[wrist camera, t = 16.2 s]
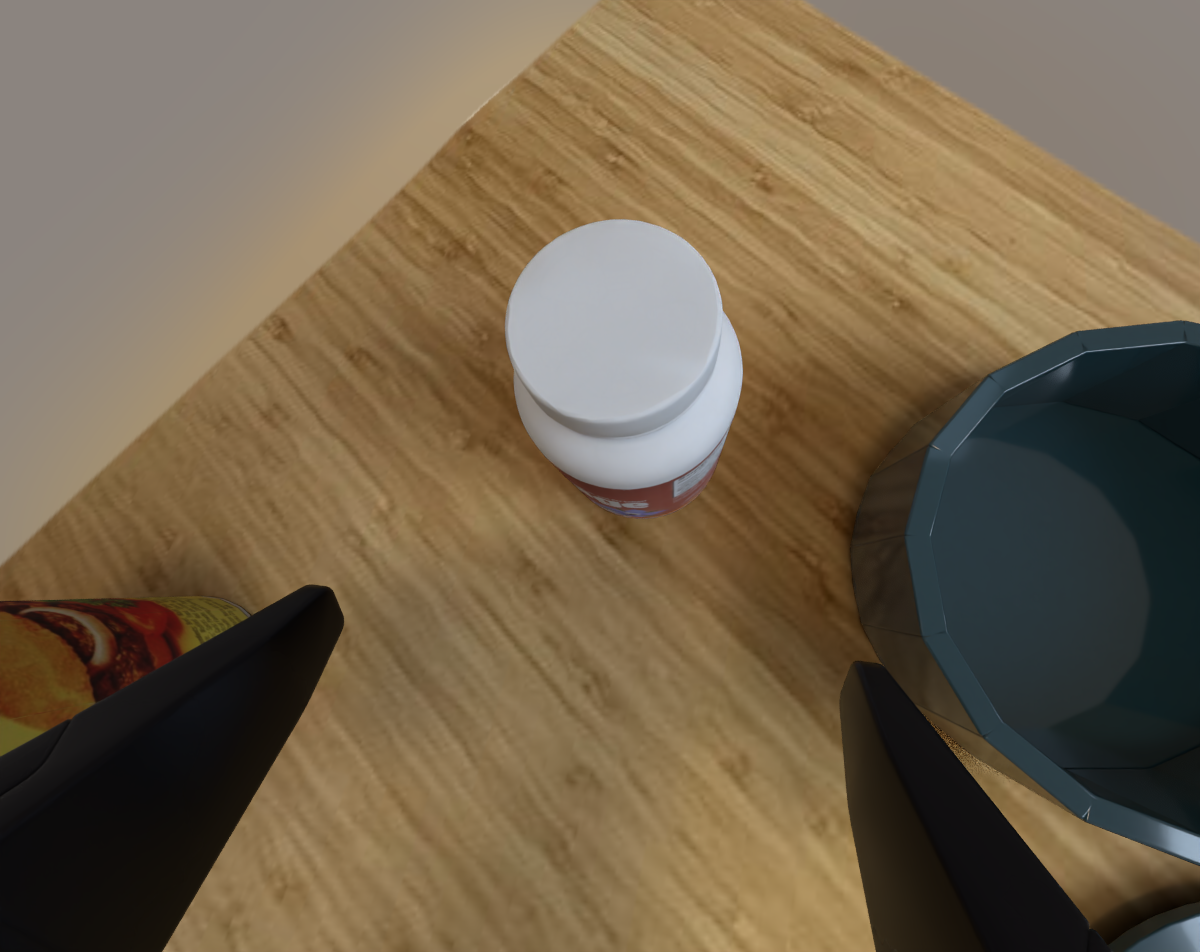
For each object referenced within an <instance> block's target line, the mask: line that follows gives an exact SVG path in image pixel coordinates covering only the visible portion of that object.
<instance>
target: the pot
mask: <svg viewBox="0 0 1200 952" xmlns="http://www.w3.org/2000/svg"><path fill="white" fill-rule="evenodd" d="M850 552H851V566H852V579H853V587H854V592H855V597H856V601H857V606H858V610H859V613H860V620H861V623H862V625H863V628H864V629H865V631H866V633H867V636H868V638H869V640H870V642H871V644H872V646H873V648H874V650H875V652H876V654H877V656H878V658H879V660H880V661H881V663H882V664H883V666H884V667H885V668H886V669H887V670H888V672H889V673H890V674H891V675H892V677H893V678H894V679H895V680H896V682H897V683H898V684H899V685H900V687H901V688H902V689H903V690H904V692H905V693H906V694H907V695H908V697H909V698H910V699H911V700H912V702H913V703H914V704H915V705H916V707H917V708H918V709H919V710H920V712H921V713H922V714H924V715H925V716H926V717H927V718H928V719H929V720H930V721H931V722H932V723H933V724H934V725H935V726H937V727H938V728H939V729H941V730H942V731H943V732H945V733H946V734H947V735H949V736H950V737H951V738H952V739H953V740H954V741H956V742H957V743H958V744H959V745H960V746H962V747H963V748H964V749H965V750H966V751H968V752H969V753H970V754H971V755H972V756H973V757H975V758H977V759H979V760H980V761H982V762H984V763H985V764H987V765H989V766H990V767H992V768H994V769H996V770H997V771H999V772H1001V773H1002V774H1004V775H1006V776H1008V777H1009V778H1011V779H1013V780H1014V781H1016V782H1018V783H1019V784H1021V785H1023V786H1025V787H1026V788H1028V789H1030V790H1031V791H1033V792H1035V793H1037V794H1038V795H1040V796H1042V797H1043V798H1045V799H1047V800H1049V801H1050V802H1052V803H1054V804H1055V805H1057V806H1059V807H1060V808H1062V809H1064V810H1066V811H1067V812H1069V813H1071V814H1072V815H1074V816H1076V817H1078V818H1079V819H1081V820H1083V821H1084V822H1086V823H1089V824H1092V825H1094V826H1097V827H1099V828H1102V829H1105V830H1107V831H1110V832H1112V833H1115V834H1118V835H1120V836H1123V837H1125V838H1128V839H1131V840H1133V841H1136V842H1138V843H1141V844H1144V845H1146V846H1149V847H1151V848H1154V849H1157V850H1159V851H1162V852H1164V853H1167V854H1170V855H1172V856H1175V857H1177V858H1180V859H1183V860H1185V861H1188V862H1190V863H1193V864H1196V865H1198V866H1200V324H1199V323H1194V322H1189V321H1182V320H1180V321H1171V322H1161V323H1151V324H1142V325H1132V326H1123V327H1113V328H1104V329H1094V330H1084V331H1076V332H1074V333H1071V334H1069V335H1067V336H1065V337H1063V338H1061V339H1059V340H1057V341H1054V342H1052V343H1050V344H1048V345H1046V346H1044V347H1042V348H1040V349H1038V350H1036V351H1034V352H1032V353H1030V354H1028V355H1026V356H1024V357H1022V358H1020V359H1018V360H1016V361H1014V362H1012V363H1010V364H1008V365H1006V366H1004V367H1002V368H1000V369H998V370H996V371H994V372H992V373H990V374H988V375H986V376H985V377H984V378H982V379H981V380H979V381H978V382H976V383H975V384H973V385H972V386H970V387H969V388H967V389H966V390H964V391H963V392H961V393H960V394H958V395H957V396H956V397H954V398H953V399H951V400H950V401H948V402H947V403H945V404H944V405H942V406H941V407H939V408H938V409H936V410H935V411H933V412H932V413H930V414H929V415H928V416H926V417H925V418H923V419H922V420H920V421H919V422H917V423H916V424H915V425H914V426H913V427H912V428H911V429H910V430H909V432H908V433H907V434H906V435H905V436H904V437H903V439H902V440H901V441H900V442H899V443H898V444H897V445H896V446H895V447H894V448H893V449H892V450H891V451H890V452H889V454H888V455H887V456H886V458H885V459H884V460H883V462H882V463H881V464H880V466H879V467H878V468H877V469H876V470H875V472H874V473H873V474H872V475H871V477H870V479H869V481H868V484H867V488H866V490H865V492H864V495H863V498H862V501H861V504H860V506H859V509H858V512H857V516H856V521H855V526H854V531H853V536H852V542H851V547H850Z"/></svg>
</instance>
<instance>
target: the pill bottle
mask: <svg viewBox="0 0 1200 952" xmlns="http://www.w3.org/2000/svg"><path fill="white" fill-rule="evenodd" d="M505 337H506V346H507V350H508V354H509V357H510V360H511V363H512V365H513V368H514V391H515V398H516V403H517V408H518V411H519V414H520V417H521V420H522V422H523V425H524V427H525V429H526V430H527V432H528V434H529V436H530V437H531V439H532V440H533V442H534V443H535V444H536V446H537V447H538V448H539V450H540V451H541V452H542V453H543V455H544V456H545V457H546V458H547V459H548V460H549V461H550V462H551V463H552V464H553V465H554V466H555V467H556V468H557V469H558V470H559V471H560V472H561V473H562V474H563V475H564V476H565V477H566V478H567V479H568V480H570V481H571V482H572V483H573V484H574V485H575V486H576V487H577V488H578V489H579V490H580V491H581V492H582V493H583V494H585V495H586V496H587V497H588V498H589V499H590V500H591V501H592V502H594V503H595V504H597V505H598V506H600V507H601V508H603V509H605V510H607V511H609V512H611V513H614V514H616V515H620V516H624V517H628V518H636V519H649V518H656V517H661V516H665V515H668V514H670V513H673V512H675V511H678V510H679V509H681V508H683V507H684V506H686V505H687V504H689V503H690V502H691V501H693V500H694V499H695V498H696V497H697V496H698V495H699V494H700V493H701V492H702V490H703V489H704V488H705V487H706V485H707V484H708V482H709V481H710V479H711V477H712V475H713V473H714V471H715V468H716V466H717V463H718V460H719V457H720V454H721V451H722V448H723V445H724V442H725V439H726V437H727V434H728V431H729V428H730V426H731V423H732V420H733V417H734V415H735V412H736V408H737V405H738V401H739V397H740V392H741V387H742V375H743V369H742V357H741V350H740V346H739V342H738V339H737V336H736V333H735V331H734V329H733V327H732V325H731V323H730V321H729V319H728V317H727V316H726V314H725V313H724V312H723V310H722V301H721V296H720V292H719V288H718V285H717V282H716V279H715V277H714V275H713V273H712V271H711V269H710V268H709V266H708V265H707V263H706V262H705V260H704V259H703V257H702V256H701V255H700V254H699V253H698V252H697V251H696V249H694V248H693V247H692V246H691V245H690V244H689V243H688V242H687V241H685V240H684V239H683V238H681V237H680V236H678V235H676V234H675V233H673V232H671V231H669V230H667V229H664V228H662V227H660V226H657V225H653V224H650V223H646V222H642V221H635V220H625V219H620V220H604V221H599V222H593V223H590V224H587V225H584V226H581V227H578V228H576V229H573V230H571V231H568V232H567V233H565V234H563V235H561V236H559V237H557V238H556V239H555V240H553V241H552V242H550V243H549V244H548V245H546V246H545V247H544V248H543V249H542V250H540V251H539V252H538V253H537V254H536V255H535V256H534V257H533V258H532V260H531V261H530V262H529V263H528V264H527V266H526V267H525V268H524V270H523V271H522V273H521V274H520V276H519V278H518V280H517V282H516V284H515V286H514V288H513V290H512V293H511V295H510V298H509V301H508V306H507V312H506V319H505Z"/></svg>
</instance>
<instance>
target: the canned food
mask: <svg viewBox="0 0 1200 952" xmlns="http://www.w3.org/2000/svg"><path fill="white" fill-rule="evenodd" d="M248 617H250V615H249V614H248V613H247V612H246V611H245V610H244V609H243V608H242V607H240V606H238V605H235V604H233V603H231V602H229V601H227V600H225V599H221V598H214V597H206V596H185V597H147V598H108V599H70V600H32V601H0V756H2V755H4V754H6V753H8V752H10V751H11V750H13V749H15V748H17V747H19V746H20V745H22V744H24V743H26V742H28V741H30V740H31V739H33V738H35V737H37V736H39V735H41V734H42V733H44V732H46V731H48V730H49V729H51V728H53V727H55V726H56V725H58V724H60V723H62V722H64V721H65V720H67V719H72V718H73V717H74V716H75V715H76V714H78V713H80V712H81V711H83V710H85V709H87V708H89V707H90V706H92V705H94V704H96V703H97V702H99V701H101V700H103V699H105V698H106V697H108V696H110V695H112V694H113V693H115V692H117V691H119V690H121V689H122V688H124V687H126V686H128V685H129V684H131V683H133V682H135V681H137V680H138V679H140V678H142V677H144V676H145V675H147V674H149V673H151V672H153V671H154V670H156V669H158V668H160V667H161V666H163V665H165V664H167V663H169V662H170V661H172V660H174V659H176V658H177V657H179V656H181V655H183V654H185V653H186V652H188V651H190V650H192V649H193V648H195V647H197V646H199V645H200V644H202V643H204V642H206V641H208V640H209V639H211V638H213V637H215V636H216V635H218V634H220V633H222V632H224V631H225V630H227V629H229V628H231V627H232V626H234V625H236V624H238V623H240V622H241V621H243V620H245V619H247V618H248Z"/></svg>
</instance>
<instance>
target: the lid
mask: <svg viewBox="0 0 1200 952" xmlns="http://www.w3.org/2000/svg"><path fill="white" fill-rule="evenodd" d="M1108 946H1109V948H1110V949H1111V950H1112V951H1113V952H1200V902H1197V903H1191V904H1186V905H1183V906H1180V907H1177V908H1175V909H1172V910H1169V911H1166V912H1163V913H1160V914H1157V915H1155V916H1153V917H1151V918H1149V919H1147V920H1145V921H1144V922H1142V923H1140V924H1138V925H1136V926H1134V927H1133V928H1131V929H1129V930H1127V931H1126V932H1124V933H1123V934H1122V935H1120V936H1119V937H1118V938H1117V939H1115V940H1114V941H1113V942H1111V943H1110V944H1109V945H1108Z"/></svg>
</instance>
